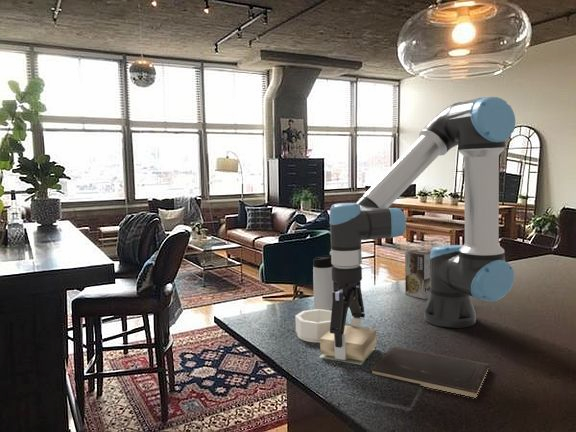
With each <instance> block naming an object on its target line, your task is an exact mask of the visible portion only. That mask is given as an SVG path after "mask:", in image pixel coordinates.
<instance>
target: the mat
mask: <svg viewBox="0 0 576 432" xmlns="http://www.w3.org/2000/svg"><path fill="white" fill-rule="evenodd" d="M375 349H376V348H375V347H374V348H373V349H372V350H371V352H370V353H369V354H368V355H367V356H366V358H365V359H364V360H363V361H361V360H355V359H348V358H346V360H342V359H336V358H335V356H330V355H324V354H320V356H319V358H321V359H326V360H332V361H338V362H344V363H349V364H353V365H355V364H356V365H360V366H361V365H362V364H363V363H364V362H365V361H366V359H367V358H369V356H371V354H372V353H373V352H374V350H375Z"/></svg>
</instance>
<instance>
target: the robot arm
mask: <svg viewBox="0 0 576 432" xmlns="http://www.w3.org/2000/svg"><path fill="white" fill-rule="evenodd" d="M515 129H516V115H515V112H514V110H513V108H512V106H511V105H510V104H508V103H507V100H505V99H503V98H502V97H498V96H483V97H478V98H474V99H470V100H465V101H459V102H455V103H453V104H450V105H449V106H447V107H446V108H443V110H442V111H440V112H439V113H438V114H436V116H435V117H433V118H432V119H431V121H430V122H428V123H427V124H426V126H424V127H423V129H421V130H420V132H419V134H418V139H417V140H416V141H414V142H413V144H411V146H410V147H409V148H408V149H407V150H406V151H405V152H404V153H403V154H402V155H401V156H400V157H399V158H398V159H397V160H396V161H395V162H394V163H393V164H392V165H391V166H390V167H389V169H387V170H386V171H385V173H383V175H382V176H381V177H380V178H379V179H377V181H376V182H375V183H374V184H373V185H372V186H371V187H370V188H368V190H367V191H366V192H365V193H364V194H363V195H362V196H361V197H360V198H358V199H357V201H356V202H340V203H339V202H338V203H334V204H332V205H331V207H330V209H329V221H328V222H329V233H330V234H329V235H330V251H329V255H330V256H331V263H332V264H333V266H332V268H331V270H332V280H333V283H336V284H338V285H337V290H336V291H333V293H332V297H333V303H332V313H331V324H330V333H333V334H334V349H335V358H336V359H342V360H346V333H344V328H345V325H346V321H347V316H348V310H350V314H351V317H350V326H354V327H362V328H363V326H362V318H363V319H364V318H365V317H366V313H365V307H364V302H363V295H362V288H361V286H362V285H361V281H362V279H363V271H362V270H363V269H362V262H363V260H362V259H363V257H362V241H367V240H368V241H369V240H379V239H392V238H398V237H400V236H402V235H404V233H405V231H406V228H407V218H406V215H405V213H404V211H403V210H402V209H400V208H398V207H390V206H391V205H392V204H393V203H394V202H395V201H396V200H397V199H398V198H399V197H400V196H401V195H402V194H403V193H404V192H405V191H406V190H407V189H408V188H409V187H410V186H411V185H412V183H414V181H416V180H417V179H418V178H419V176H420V175H422V173H424V172H425V171H426V169H427V168H428V167H429V166H430V165H431V164H432V163H433V162H434V161H435V160H436V159H437V158H439V157H440V156H445V155H446V154H447V153H448V152H449V151H450V150H451V149H453V148H455V147H457V146H458V148H457V149H458V150H457V152H458V153H460V154H461V155H462V156H463V158H464V159H463V161H464V162H463V164H464V165H463V167H464V169H463V170H464V174H463V175H464V177H463V178H464V243H463V244H453V245H452V244H451V245H450V244H449V245H448V244H447V245H439V246H434V247H432V248H431V249H430V252H431V253H430V295H429V298H427V301H426V304H425V307H424V310H423V319H424V321H425V322H426V323H429V324H431V325H434V326H437V327H443V328H452V329H455V328H456V329H460V328H469V327H472V326H474V325H475V324H476V322H477V314H476V311H475V307H474V304H473V302H472V298H471V297H473V298H474V299H476V300H479V301H480V300H481V301H485V302H493V303H494V302H497V301H499V300H501V299H503V298H504V297H505V296H506V295H507V293H510V290H511V289H512V287H513V285H514V282H515V281H514V280H515V272H514V271H515V270H514V268H513V266H511V264H510V263H509V262H507V261H506V257H505V254H506V253H505V249H504V248H503V247H502V246H501V245H500V243H499V241H500V239H499V234H500V233H499V223H500V222H499V220H500V219H499V218H500V217H499V216H500V215H499V211H500V210H499V209H500V207H499V205H500V203H499V201H500V199H499V197H500V196H499V195H500V194H499V193H500V191H499V187H500V186H499V185H500V184H499V183H500V179H499V178H500V167H499V165H500V154H501V153H502V152H503V151H504V150H505V149H506V141H507V140H508V139H509V138H510V137H511V136H512V133H514V131H515Z"/></svg>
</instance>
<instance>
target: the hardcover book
mask: <svg viewBox="0 0 576 432" xmlns="http://www.w3.org/2000/svg"><path fill="white" fill-rule="evenodd" d="M490 366H491V365H490V364H489V363H485V362H479V361H474V360H473V361H472V360H468V359H464V358H463V359H462V358H458V357H453V356H452V357H451V356H447V355H441V354H437V353H430V352H427V351H426V352H425V351H419V350H415V349H410V348H403V347H400V346H399V347H397V346H394V345H393V346H392V347H391V348H389V350H388V351H387V352H386V353H385V354H384V355H383V356H382V357H381V358H380V359H379V360H378V361H377V362H376V363H375V364H374V365H373V366H372V367H371V368H370V369H369V370H370V371H371V374H372V375H376V376H377V375H378V376H382V377H387V378H392V379H396V380H400V381H405V382H410V383H414V384H418V385H419V387H420V386H424V387H429V388H433V389H438V390H442V391H447V392H451V393H456V394H461V395H465V396H470V397H474V398H476V397H477V398H478V395H479V393H480V391H481V389H480V388H482V386H483V384H484V382H485V380H484V379H486V377H487V375H486V374H488V373H487V372H489V371H490V370H491V369H490ZM488 369H489V371H488ZM485 376H486V377H485ZM483 381H484V382H483ZM482 383H483V384H482ZM481 385H482V386H481ZM424 387H423V388H424ZM429 388H428V389H429ZM433 389H432V390H433ZM438 390H437V391H438ZM479 390H480V391H479ZM442 391H441V392H442ZM447 392H446V393H447ZM478 392H479V393H478ZM451 393H450V394H451ZM456 394H455V395H456ZM477 394H478V395H477ZM465 396H464V397H465ZM474 398H473V399H474ZM477 398H476V399H477Z"/></svg>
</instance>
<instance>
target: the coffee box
mask: <svg viewBox="0 0 576 432" xmlns="http://www.w3.org/2000/svg"><path fill="white" fill-rule="evenodd" d="M404 253H405V254H404V263H405V264H404V272H405V273H404V274H405V275H404V276H405V280H404V281H405V282H404V284H405V295H407V296H411V297H415V298H419V299H422V300H426V299H427V300H428V298H429V295H430V253H431V251H428V250H420V249H412V250H409V251H405V252H404Z"/></svg>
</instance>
